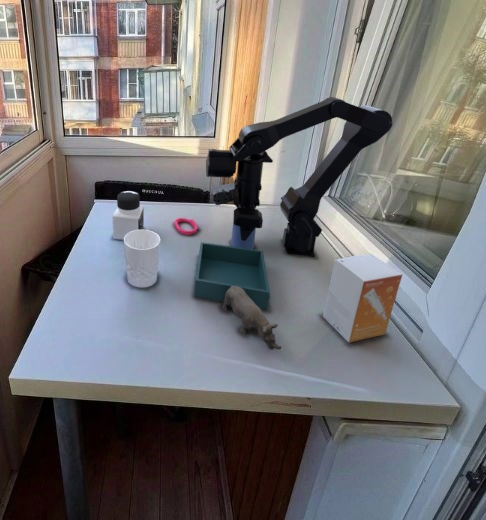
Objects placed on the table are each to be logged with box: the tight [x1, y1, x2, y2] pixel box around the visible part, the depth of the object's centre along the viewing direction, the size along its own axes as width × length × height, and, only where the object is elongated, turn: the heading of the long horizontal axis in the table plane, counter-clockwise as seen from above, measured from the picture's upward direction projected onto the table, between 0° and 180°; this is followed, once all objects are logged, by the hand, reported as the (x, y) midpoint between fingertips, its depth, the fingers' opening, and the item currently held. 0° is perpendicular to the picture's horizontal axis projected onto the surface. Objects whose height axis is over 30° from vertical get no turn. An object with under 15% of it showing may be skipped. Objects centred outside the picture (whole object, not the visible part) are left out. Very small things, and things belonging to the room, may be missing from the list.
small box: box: [322, 253, 403, 344], centre depth 59 cm, size 8×6×13 cm
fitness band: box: [174, 217, 199, 236], centre depth 94 cm, size 8×6×2 cm
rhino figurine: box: [221, 286, 283, 351], centre depth 59 cm, size 4×14×6 cm, turn 22°
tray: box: [193, 241, 271, 311], centre depth 73 cm, size 14×14×4 cm
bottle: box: [230, 206, 257, 249], centre depth 85 cm, size 6×6×11 cm
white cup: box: [123, 229, 162, 288], centre depth 73 cm, size 8×8×10 cm
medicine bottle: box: [112, 190, 145, 241], centre depth 90 cm, size 7×7×12 cm
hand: (243, 234), depth 85 cm, fingers closed on bottle, 5 cm apart
